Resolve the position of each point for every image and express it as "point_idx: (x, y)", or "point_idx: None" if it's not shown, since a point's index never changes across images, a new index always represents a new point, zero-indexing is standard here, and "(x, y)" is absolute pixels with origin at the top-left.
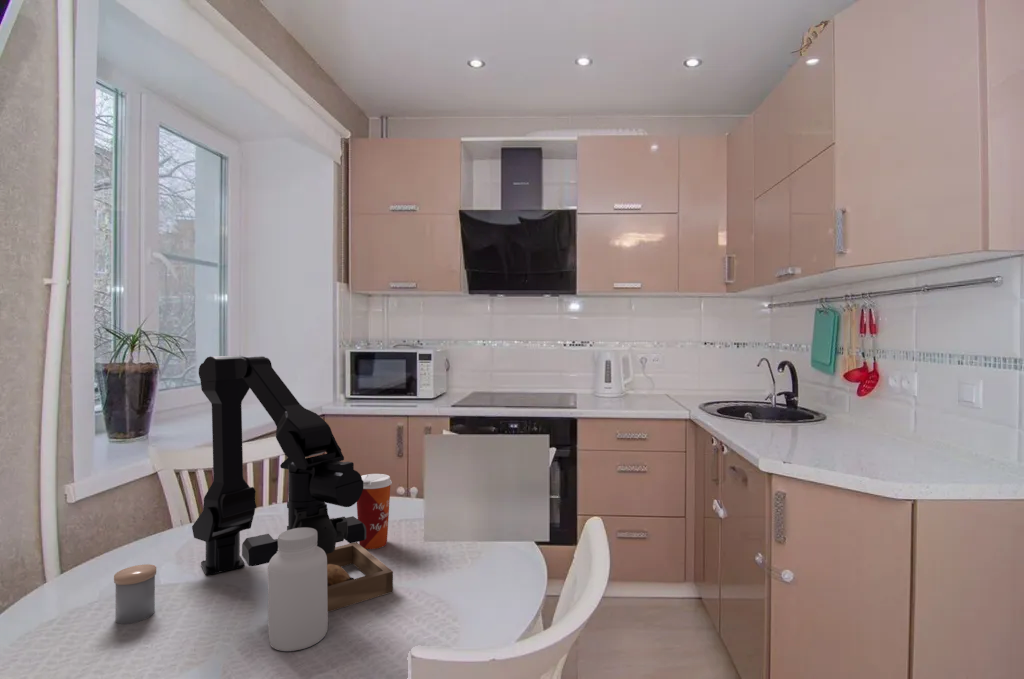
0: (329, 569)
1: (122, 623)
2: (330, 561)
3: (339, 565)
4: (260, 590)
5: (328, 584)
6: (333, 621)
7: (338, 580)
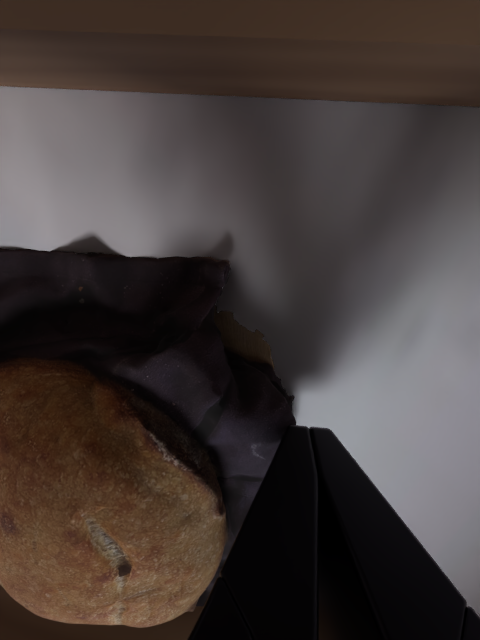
0: (61, 558)
1: None
2: (45, 636)
3: None
4: None
5: (132, 405)
6: None
7: (36, 403)
